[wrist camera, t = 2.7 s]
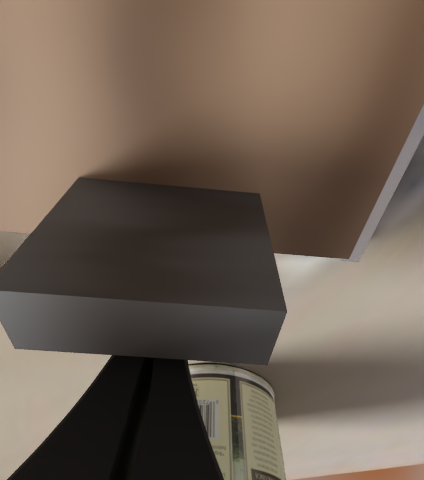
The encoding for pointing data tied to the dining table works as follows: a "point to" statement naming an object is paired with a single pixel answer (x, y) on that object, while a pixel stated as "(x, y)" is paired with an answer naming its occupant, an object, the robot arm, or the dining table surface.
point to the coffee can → (239, 421)
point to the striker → (190, 162)
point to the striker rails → (389, 186)
